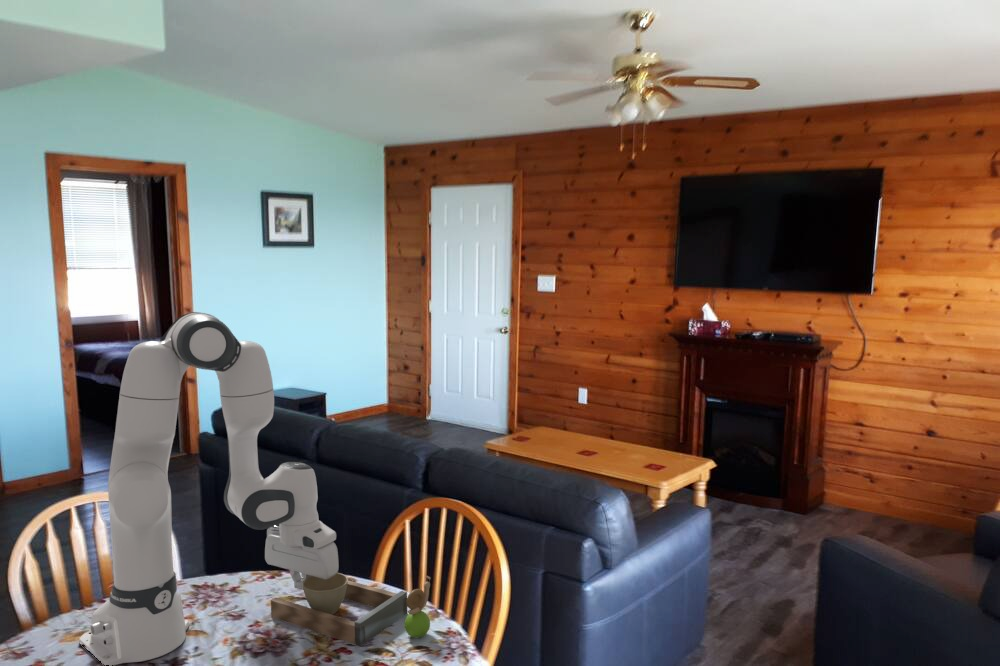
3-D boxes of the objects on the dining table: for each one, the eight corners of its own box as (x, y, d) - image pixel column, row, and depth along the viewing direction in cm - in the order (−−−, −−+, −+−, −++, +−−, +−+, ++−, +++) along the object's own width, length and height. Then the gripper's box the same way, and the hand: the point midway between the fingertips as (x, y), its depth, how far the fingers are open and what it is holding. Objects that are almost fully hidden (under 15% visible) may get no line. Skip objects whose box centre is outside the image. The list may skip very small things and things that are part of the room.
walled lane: (271, 617, 159) (270, 595, 159) (321, 588, 173) (321, 569, 172) (360, 646, 146) (360, 623, 146) (407, 613, 160) (406, 592, 160)
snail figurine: (439, 633, 151) (438, 579, 150) (416, 645, 146) (415, 590, 145) (421, 625, 155) (420, 572, 154) (399, 636, 150) (398, 582, 149)
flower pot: (337, 624, 156) (336, 592, 155) (295, 619, 158) (294, 589, 157) (355, 603, 165) (354, 573, 165) (316, 599, 167) (315, 570, 167)
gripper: (256, 528, 166) (259, 584, 167) (322, 543, 156) (324, 603, 157) (277, 519, 172) (279, 574, 173) (341, 534, 162) (343, 592, 163)
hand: (301, 588), depth 165 cm, fingers closed
